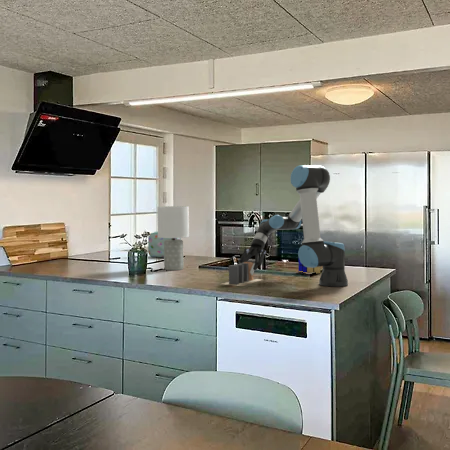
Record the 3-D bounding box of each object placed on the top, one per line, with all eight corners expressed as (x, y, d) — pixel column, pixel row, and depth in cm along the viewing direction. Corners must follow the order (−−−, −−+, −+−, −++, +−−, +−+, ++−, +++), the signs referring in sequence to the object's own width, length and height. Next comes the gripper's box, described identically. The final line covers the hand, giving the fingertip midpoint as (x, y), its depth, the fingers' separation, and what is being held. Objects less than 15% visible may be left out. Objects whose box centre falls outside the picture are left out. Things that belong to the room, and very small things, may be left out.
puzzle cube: (298, 272, 331) (298, 256, 331) (311, 271, 335) (311, 255, 335) (306, 274, 322) (306, 258, 321) (320, 273, 326) (320, 257, 325)
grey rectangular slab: (236, 282, 292) (235, 264, 291) (243, 282, 289) (243, 264, 289) (234, 282, 290) (234, 264, 290) (242, 283, 288) (241, 265, 287)
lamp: (189, 266, 361) (189, 206, 358) (188, 271, 340) (188, 206, 338) (159, 267, 360) (158, 206, 358) (156, 271, 339) (155, 206, 337)
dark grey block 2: (240, 280, 297) (240, 262, 296) (248, 281, 294) (248, 263, 293) (239, 281, 295) (238, 263, 294) (246, 281, 292) (246, 263, 292)
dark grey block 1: (230, 283, 287) (230, 265, 287) (238, 284, 285) (238, 265, 284) (229, 283, 286) (228, 265, 285) (237, 284, 283) (236, 266, 282)
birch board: (263, 280, 300) (263, 279, 300) (241, 287, 279) (241, 286, 278) (242, 278, 307) (242, 277, 307) (219, 285, 286) (219, 283, 286)
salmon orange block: (245, 279, 301) (245, 261, 301) (253, 279, 299) (253, 262, 298) (244, 279, 300) (244, 262, 299) (251, 280, 297) (251, 262, 296)
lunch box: (183, 256, 420) (183, 230, 419) (178, 258, 410) (178, 231, 409) (152, 256, 428) (152, 229, 427) (147, 257, 418) (146, 230, 417)
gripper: (275, 247, 306) (263, 278, 293) (246, 245, 316) (233, 276, 303) (271, 238, 301) (258, 270, 288) (242, 237, 311) (228, 268, 298)
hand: (245, 273), depth 296 cm, fingers open, 6 cm apart
